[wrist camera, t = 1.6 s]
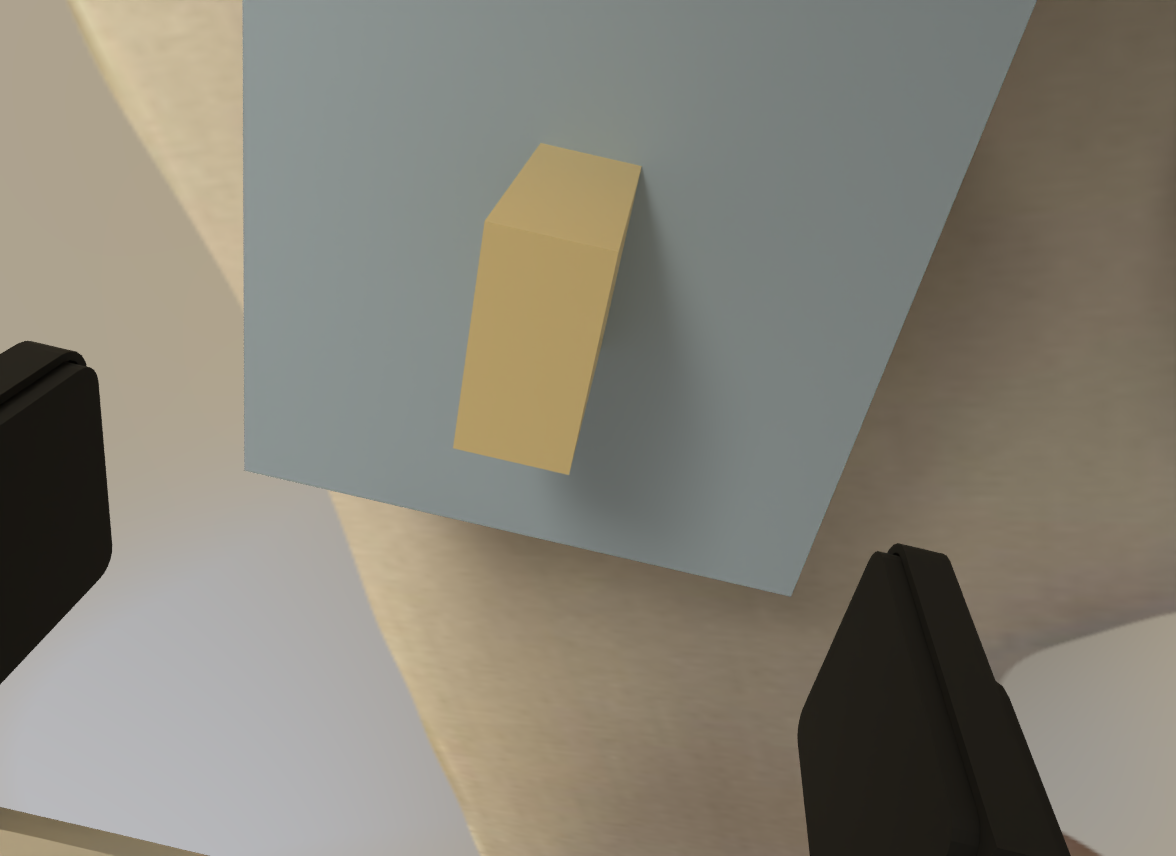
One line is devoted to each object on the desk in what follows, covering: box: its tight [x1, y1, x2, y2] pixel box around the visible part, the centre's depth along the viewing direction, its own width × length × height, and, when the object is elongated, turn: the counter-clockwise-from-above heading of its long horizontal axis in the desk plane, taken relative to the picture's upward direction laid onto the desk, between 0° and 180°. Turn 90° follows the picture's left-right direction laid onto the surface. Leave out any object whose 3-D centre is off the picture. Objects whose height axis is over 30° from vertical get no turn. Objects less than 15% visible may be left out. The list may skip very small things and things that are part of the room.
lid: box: [243, 0, 1037, 597], centre depth 17 cm, size 15×14×6 cm
